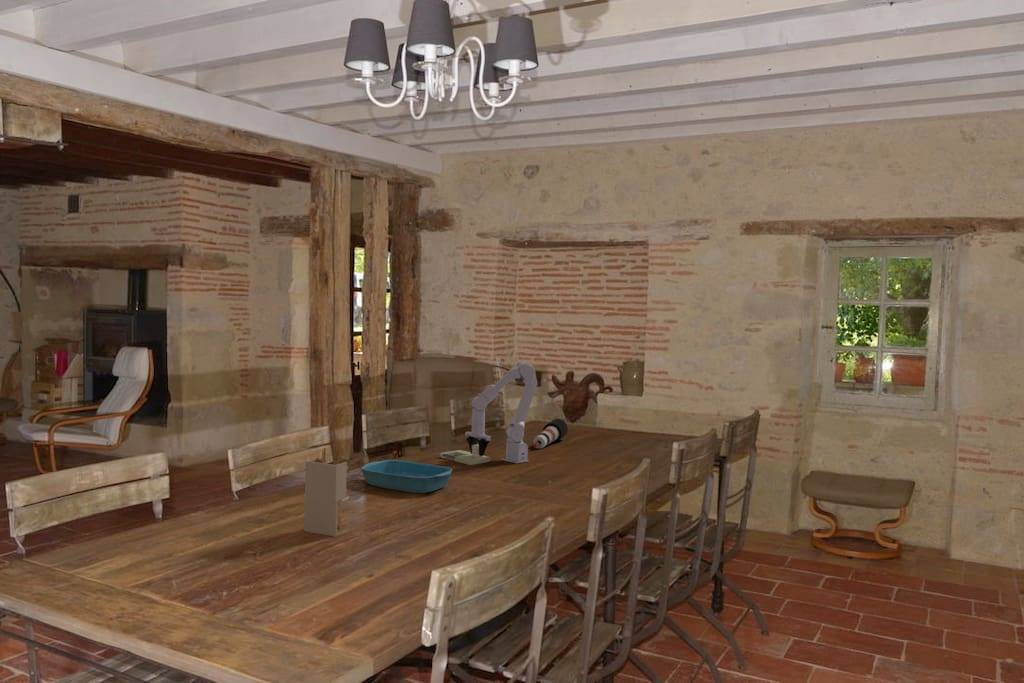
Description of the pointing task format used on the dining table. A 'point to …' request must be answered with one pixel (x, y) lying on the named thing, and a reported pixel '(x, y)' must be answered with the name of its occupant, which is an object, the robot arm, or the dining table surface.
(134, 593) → the dining table surface
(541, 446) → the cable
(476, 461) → the pale green panel
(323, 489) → the tall grey upright box
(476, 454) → the white round knob
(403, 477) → the casserole dish
